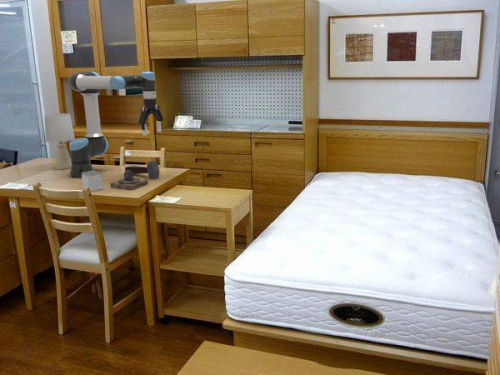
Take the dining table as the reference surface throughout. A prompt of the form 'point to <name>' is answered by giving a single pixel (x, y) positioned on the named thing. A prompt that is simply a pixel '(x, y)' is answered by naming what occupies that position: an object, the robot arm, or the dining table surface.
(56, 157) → the lamp
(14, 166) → the dining table surface
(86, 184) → the grey block
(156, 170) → the hammer
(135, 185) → the post base
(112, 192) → the dining table surface
